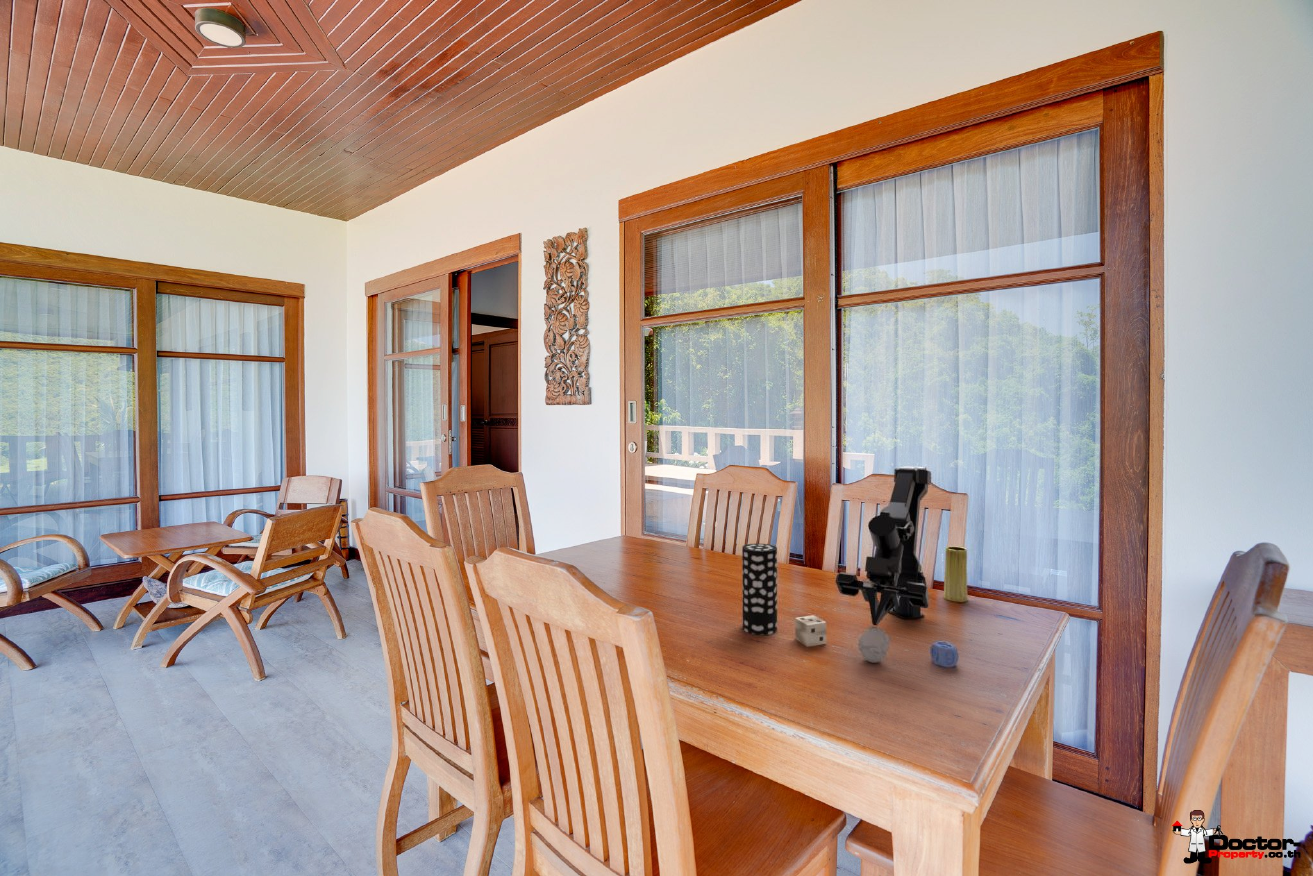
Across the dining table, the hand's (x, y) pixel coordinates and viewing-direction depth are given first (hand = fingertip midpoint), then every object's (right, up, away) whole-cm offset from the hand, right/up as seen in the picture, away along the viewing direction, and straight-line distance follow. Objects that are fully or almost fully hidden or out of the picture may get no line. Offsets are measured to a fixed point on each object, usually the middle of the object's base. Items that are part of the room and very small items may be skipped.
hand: (874, 624), depth 123 cm
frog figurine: (0, -8, 0) cm, 8 cm away
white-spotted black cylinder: (-21, -7, +19) cm, 29 cm away
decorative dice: (+14, -8, -1) cm, 16 cm away
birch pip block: (-11, -7, +11) cm, 17 cm away
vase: (+38, -6, +40) cm, 55 cm away
